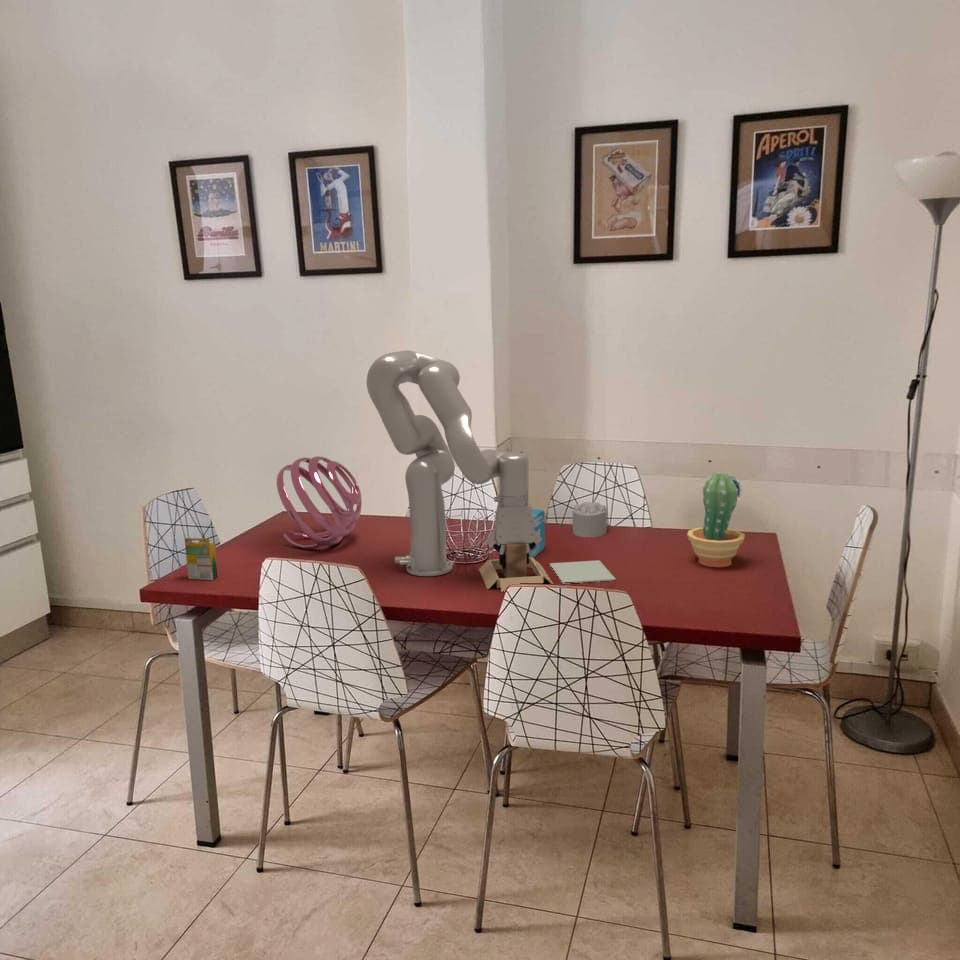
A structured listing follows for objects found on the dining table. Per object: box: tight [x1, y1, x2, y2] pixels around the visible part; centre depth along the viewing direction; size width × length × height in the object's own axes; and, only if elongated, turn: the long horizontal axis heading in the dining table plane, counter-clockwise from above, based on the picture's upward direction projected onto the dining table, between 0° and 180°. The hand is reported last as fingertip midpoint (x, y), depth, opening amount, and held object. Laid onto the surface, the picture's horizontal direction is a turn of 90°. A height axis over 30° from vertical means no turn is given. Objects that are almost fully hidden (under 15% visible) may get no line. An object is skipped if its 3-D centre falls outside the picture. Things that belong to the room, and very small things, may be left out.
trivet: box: [549, 560, 616, 585], centre depth 236 cm, size 14×16×1 cm
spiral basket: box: [276, 455, 363, 550], centre depth 266 cm, size 28×28×27 cm
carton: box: [478, 557, 554, 593], centre depth 234 cm, size 17×21×3 cm
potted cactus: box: [686, 471, 745, 568], centre depth 240 cm, size 15×15×25 cm
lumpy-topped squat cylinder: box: [572, 501, 608, 538], centre depth 274 cm, size 10×13×9 cm
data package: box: [529, 508, 546, 559], centre depth 253 cm, size 12×4×12 cm, turn 157°
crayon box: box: [184, 537, 219, 581], centre depth 238 cm, size 7×3×12 cm, turn 79°
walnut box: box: [501, 543, 528, 578], centre depth 233 cm, size 5×9×10 cm, turn 8°
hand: (514, 566), depth 233 cm, fingers closed on walnut box, 5 cm apart
